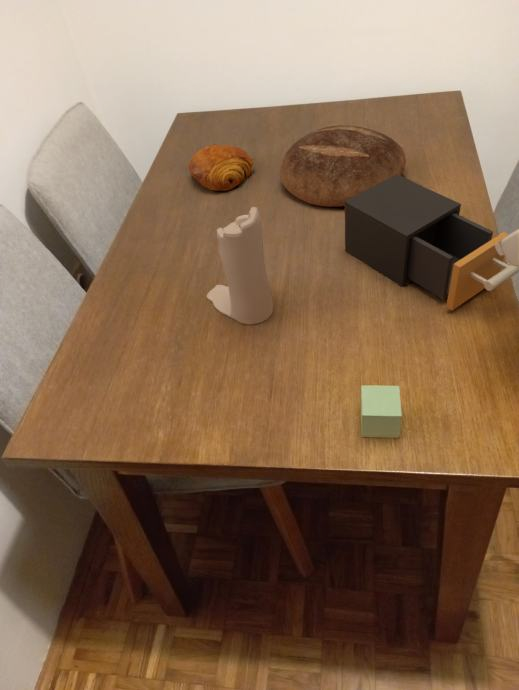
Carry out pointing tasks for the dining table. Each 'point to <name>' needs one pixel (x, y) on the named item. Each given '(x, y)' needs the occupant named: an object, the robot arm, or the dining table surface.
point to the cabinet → (391, 223)
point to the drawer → (457, 260)
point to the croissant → (220, 166)
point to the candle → (243, 272)
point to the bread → (339, 164)
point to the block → (380, 411)
